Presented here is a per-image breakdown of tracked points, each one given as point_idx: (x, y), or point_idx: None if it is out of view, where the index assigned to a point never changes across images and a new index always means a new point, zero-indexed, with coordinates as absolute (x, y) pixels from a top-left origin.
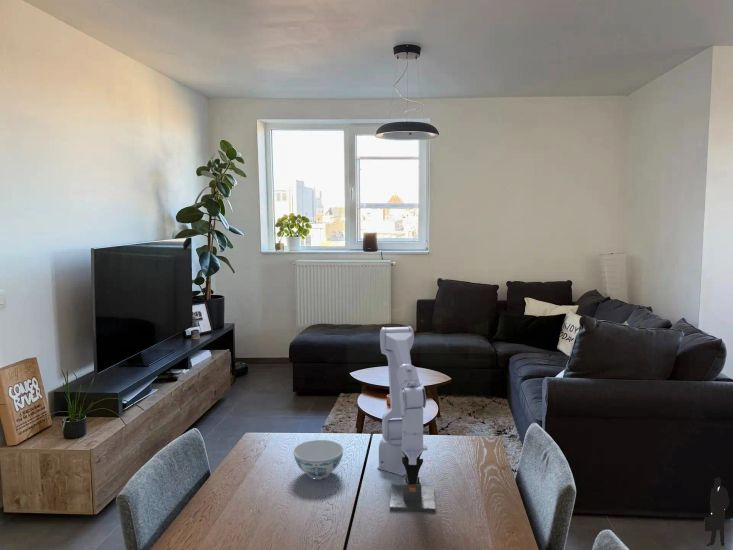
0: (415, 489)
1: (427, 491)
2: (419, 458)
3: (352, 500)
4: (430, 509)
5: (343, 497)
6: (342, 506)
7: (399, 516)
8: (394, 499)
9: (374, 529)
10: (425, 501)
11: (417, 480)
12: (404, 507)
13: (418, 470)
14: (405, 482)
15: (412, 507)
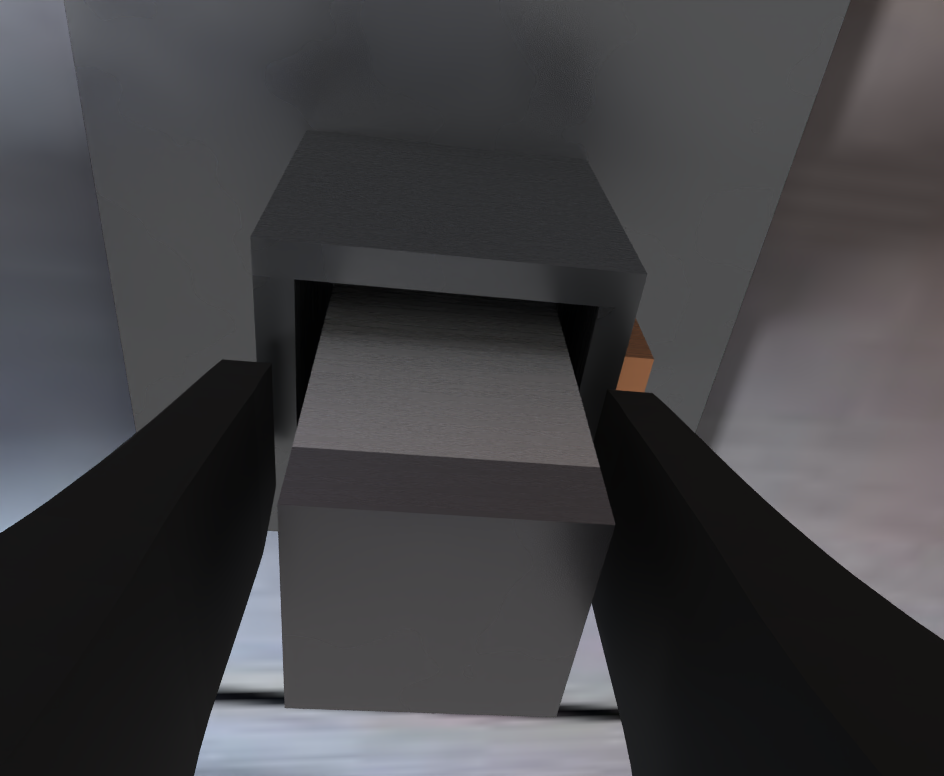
0: (643, 346)
1: (270, 7)
2: (93, 640)
3: (439, 724)
4: (829, 37)
5: (391, 768)
6: (529, 766)
7: (790, 417)
8: None
9: (926, 600)
10: (610, 95)
11: (566, 373)
12: (709, 388)
13: (916, 638)
14: None
15: (737, 301)
